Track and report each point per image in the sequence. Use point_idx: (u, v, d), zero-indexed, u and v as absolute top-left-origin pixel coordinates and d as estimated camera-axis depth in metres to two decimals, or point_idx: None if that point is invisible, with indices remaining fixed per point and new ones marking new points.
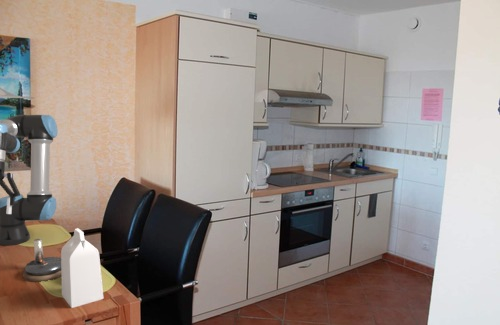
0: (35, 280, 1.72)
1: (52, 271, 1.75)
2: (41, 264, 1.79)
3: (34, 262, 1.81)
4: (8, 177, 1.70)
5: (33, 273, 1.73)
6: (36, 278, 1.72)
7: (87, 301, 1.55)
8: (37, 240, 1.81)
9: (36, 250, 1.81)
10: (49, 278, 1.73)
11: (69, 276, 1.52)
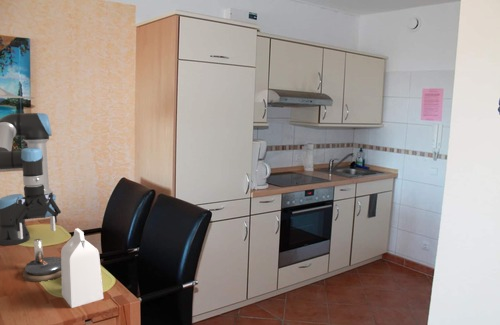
0: (35, 280, 1.72)
1: (52, 271, 1.75)
2: (41, 264, 1.79)
3: (34, 262, 1.81)
4: (51, 198, 1.83)
5: (33, 273, 1.73)
6: (36, 278, 1.72)
7: (87, 301, 1.55)
8: (37, 240, 1.81)
9: (36, 250, 1.81)
10: (49, 278, 1.73)
11: (69, 276, 1.52)
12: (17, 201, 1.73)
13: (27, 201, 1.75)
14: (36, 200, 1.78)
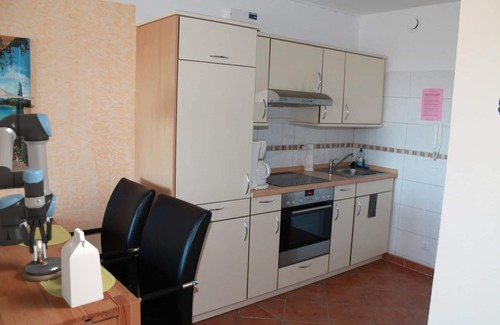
0: (35, 280, 1.72)
1: (52, 271, 1.75)
2: (41, 264, 1.79)
3: (34, 262, 1.81)
4: (50, 222, 1.84)
5: (33, 273, 1.73)
6: (36, 278, 1.72)
7: (87, 301, 1.55)
8: (37, 240, 1.81)
9: (36, 250, 1.81)
10: (49, 278, 1.73)
11: (69, 276, 1.52)
12: (20, 226, 1.76)
13: (29, 222, 1.77)
14: (38, 219, 1.80)
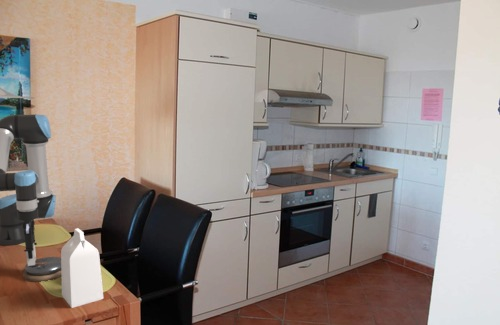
0: (35, 280, 1.72)
1: None
2: (43, 265, 1.78)
3: (31, 266, 1.77)
4: None
5: (50, 272, 1.74)
6: (36, 278, 1.72)
7: (87, 301, 1.55)
8: None
9: None
10: (49, 278, 1.73)
11: (69, 276, 1.52)
12: (27, 231, 1.70)
13: (30, 226, 1.73)
14: (31, 222, 1.76)
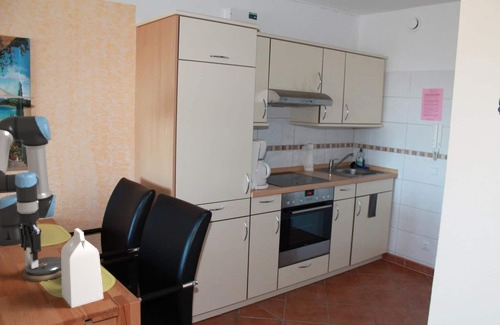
0: (35, 280, 1.72)
1: None
2: (46, 264, 1.78)
3: (37, 268, 1.75)
4: None
5: None
6: (36, 278, 1.72)
7: (87, 301, 1.55)
8: None
9: None
10: (49, 278, 1.73)
11: (69, 276, 1.52)
12: (37, 232, 1.69)
13: None
14: None
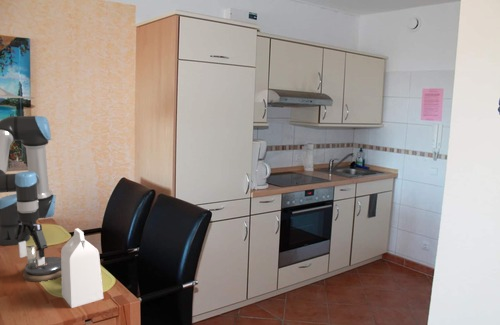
0: (35, 280, 1.72)
1: None
2: (46, 264, 1.79)
3: (37, 268, 1.75)
4: None
5: None
6: (36, 278, 1.72)
7: (87, 301, 1.55)
8: (31, 247, 1.74)
9: (35, 256, 1.74)
10: (49, 278, 1.73)
11: (69, 276, 1.52)
12: (38, 227, 1.68)
13: None
14: None
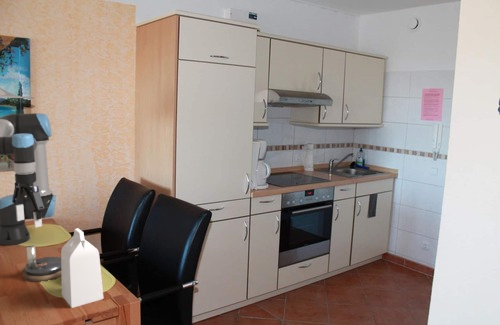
0: (35, 280, 1.72)
1: None
2: (46, 264, 1.79)
3: (37, 268, 1.75)
4: None
5: None
6: (36, 278, 1.72)
7: (87, 301, 1.55)
8: (31, 247, 1.74)
9: (35, 256, 1.74)
10: (49, 278, 1.73)
11: (69, 276, 1.52)
12: (35, 189, 1.68)
13: None
14: None
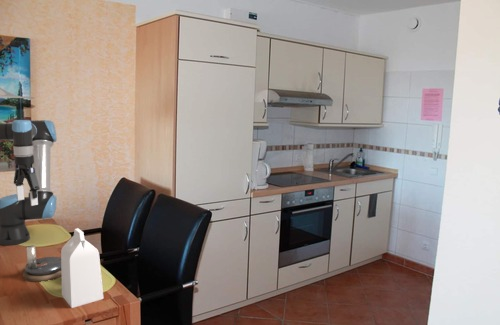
0: (35, 280, 1.72)
1: None
2: (46, 264, 1.79)
3: (37, 268, 1.75)
4: None
5: None
6: (36, 278, 1.72)
7: (87, 301, 1.55)
8: (31, 247, 1.74)
9: (35, 256, 1.74)
10: (49, 278, 1.73)
11: (69, 276, 1.52)
12: (31, 170, 1.84)
13: None
14: None
